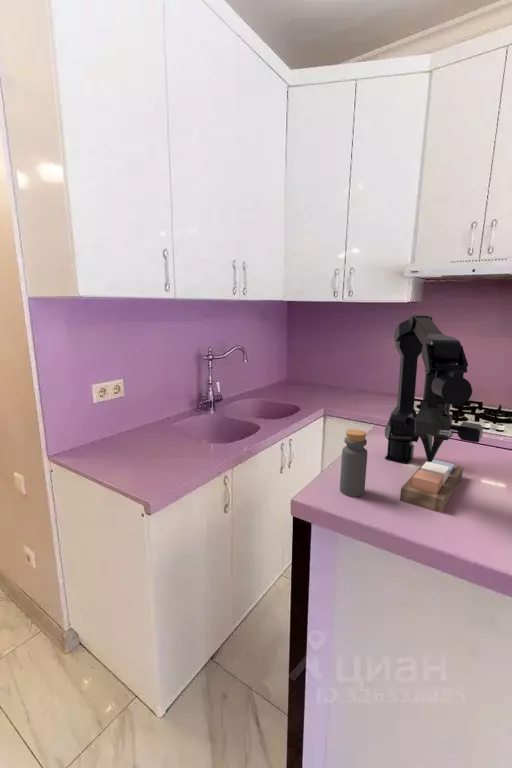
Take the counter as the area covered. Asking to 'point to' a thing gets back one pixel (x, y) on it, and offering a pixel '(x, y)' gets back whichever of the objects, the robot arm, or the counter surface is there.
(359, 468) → the bottle
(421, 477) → the button terracotta
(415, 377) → the robot arm
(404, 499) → the wooden compartment tray
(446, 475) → the button cream
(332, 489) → the counter surface
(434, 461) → the button slate
